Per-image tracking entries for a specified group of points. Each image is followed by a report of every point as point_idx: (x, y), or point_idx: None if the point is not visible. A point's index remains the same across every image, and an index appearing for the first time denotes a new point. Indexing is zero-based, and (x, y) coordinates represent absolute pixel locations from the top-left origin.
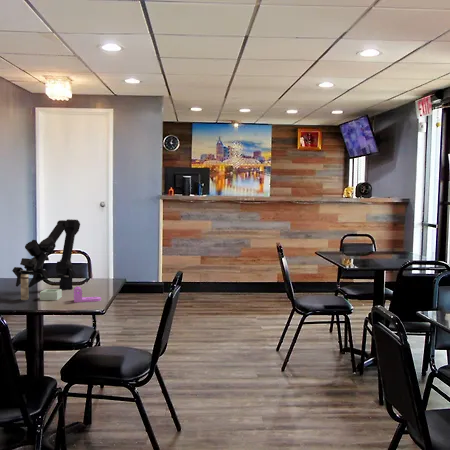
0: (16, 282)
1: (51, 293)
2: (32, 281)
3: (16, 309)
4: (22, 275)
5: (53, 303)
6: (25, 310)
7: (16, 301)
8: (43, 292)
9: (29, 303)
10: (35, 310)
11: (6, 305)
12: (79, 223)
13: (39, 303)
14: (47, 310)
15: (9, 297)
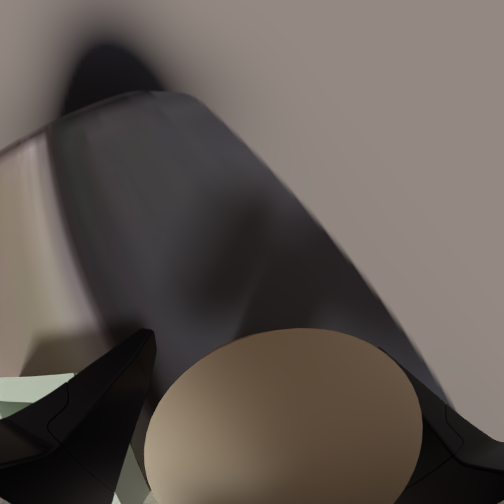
0: (405, 371)
1: (10, 377)
2: (79, 378)
3: (133, 105)
4: (292, 330)
5: (5, 277)
6: (90, 108)
7: (260, 279)
8: (49, 375)
9: (122, 238)
10: (54, 123)
11: (239, 151)
12: None
13: (64, 256)
14: (17, 142)
15: None
